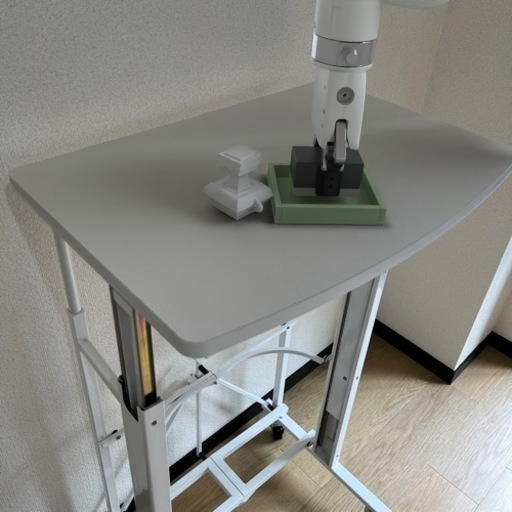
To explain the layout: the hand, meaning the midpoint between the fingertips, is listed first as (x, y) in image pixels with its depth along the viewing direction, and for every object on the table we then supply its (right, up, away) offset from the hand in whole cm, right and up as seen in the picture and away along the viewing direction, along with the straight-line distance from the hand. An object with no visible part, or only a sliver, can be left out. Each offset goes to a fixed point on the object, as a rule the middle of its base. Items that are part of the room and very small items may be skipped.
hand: (323, 183), depth 76 cm
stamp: (-12, -4, -2) cm, 13 cm away
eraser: (0, -1, 0) cm, 1 cm away
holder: (0, -2, +2) cm, 3 cm away
